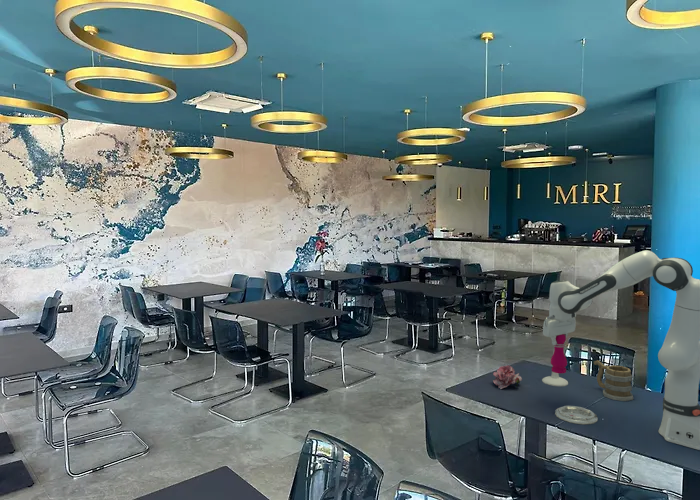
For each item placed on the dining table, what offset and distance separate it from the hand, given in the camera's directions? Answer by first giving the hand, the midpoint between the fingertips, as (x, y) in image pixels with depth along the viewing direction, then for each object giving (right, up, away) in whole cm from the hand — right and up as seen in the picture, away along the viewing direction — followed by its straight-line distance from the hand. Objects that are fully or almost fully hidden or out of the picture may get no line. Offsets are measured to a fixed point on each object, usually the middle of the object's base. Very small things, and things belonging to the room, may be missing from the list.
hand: (559, 343), depth 229 cm
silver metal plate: (+2, -30, -14) cm, 33 cm away
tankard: (+32, -28, +13) cm, 44 cm away
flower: (-16, -28, +26) cm, 41 cm away
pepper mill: (0, -14, +1) cm, 14 cm away
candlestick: (+11, -27, +31) cm, 43 cm away
